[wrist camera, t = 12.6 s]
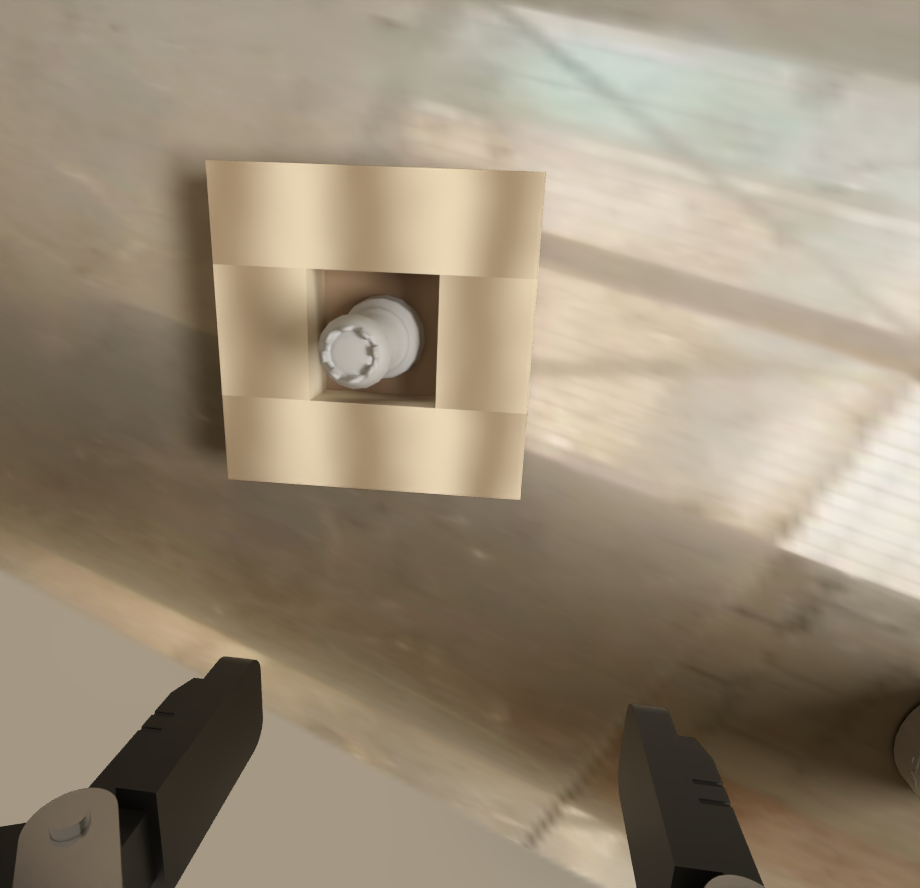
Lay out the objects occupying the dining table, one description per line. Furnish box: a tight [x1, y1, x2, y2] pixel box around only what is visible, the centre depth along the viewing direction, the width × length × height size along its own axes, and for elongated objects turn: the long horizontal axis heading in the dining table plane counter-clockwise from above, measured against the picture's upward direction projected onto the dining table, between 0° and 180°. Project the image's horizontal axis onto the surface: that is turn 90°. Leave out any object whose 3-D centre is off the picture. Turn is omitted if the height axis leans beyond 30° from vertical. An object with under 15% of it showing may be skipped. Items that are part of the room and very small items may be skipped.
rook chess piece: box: [318, 295, 425, 389], centre depth 28 cm, size 4×4×8 cm
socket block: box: [205, 160, 546, 500], centre depth 31 cm, size 16×16×4 cm
